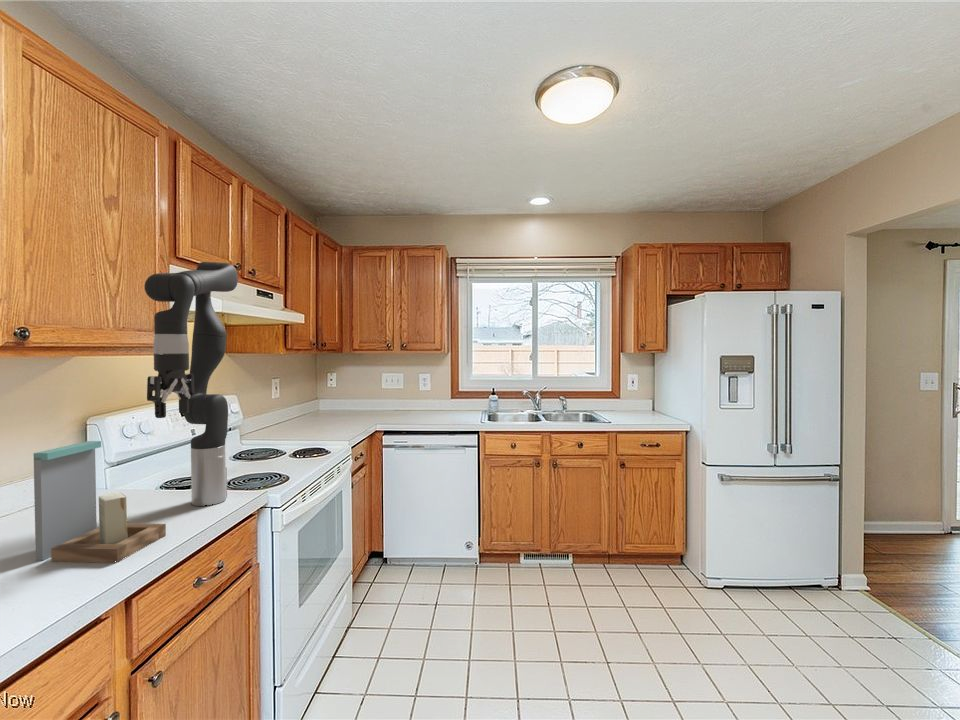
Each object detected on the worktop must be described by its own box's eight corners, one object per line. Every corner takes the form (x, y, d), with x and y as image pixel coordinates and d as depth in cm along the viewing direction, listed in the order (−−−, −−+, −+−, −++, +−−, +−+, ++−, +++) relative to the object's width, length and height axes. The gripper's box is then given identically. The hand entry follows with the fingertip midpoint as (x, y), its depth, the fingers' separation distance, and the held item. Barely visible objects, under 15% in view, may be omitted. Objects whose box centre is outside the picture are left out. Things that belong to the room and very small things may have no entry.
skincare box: (128, 548, 110) (127, 496, 110) (105, 554, 107) (104, 501, 106) (121, 540, 114) (120, 491, 114) (99, 546, 111) (98, 495, 111)
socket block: (108, 535, 118) (107, 523, 118) (165, 535, 117) (165, 523, 117) (51, 561, 103) (51, 548, 103) (117, 562, 102) (117, 549, 102)
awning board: (90, 535, 117) (88, 441, 117) (102, 535, 117) (101, 441, 117) (35, 560, 103) (33, 453, 103) (49, 560, 103) (47, 453, 103)
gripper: (176, 352, 126) (177, 411, 126) (135, 352, 112) (137, 419, 112) (203, 352, 126) (204, 411, 126) (166, 352, 112) (167, 419, 112)
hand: (172, 415), depth 119 cm, fingers open, 8 cm apart
